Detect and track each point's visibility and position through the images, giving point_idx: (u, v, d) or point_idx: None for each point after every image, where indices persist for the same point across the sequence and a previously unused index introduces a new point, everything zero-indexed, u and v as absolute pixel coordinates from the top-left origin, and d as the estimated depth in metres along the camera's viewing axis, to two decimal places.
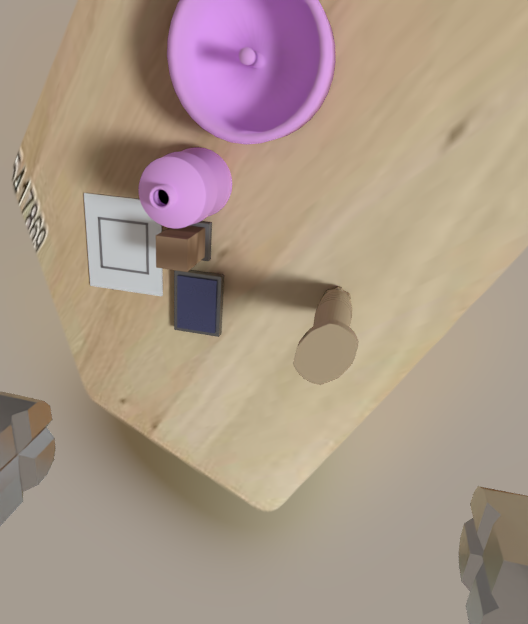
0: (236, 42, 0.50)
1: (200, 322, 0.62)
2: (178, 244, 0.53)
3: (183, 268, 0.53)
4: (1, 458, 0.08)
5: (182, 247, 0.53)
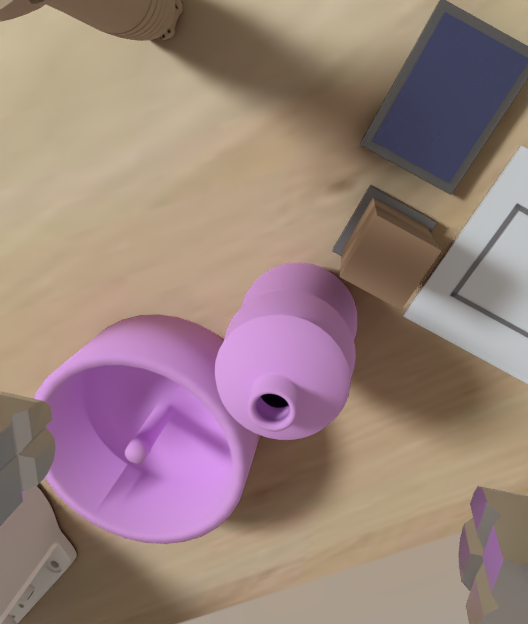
0: (186, 438, 0.39)
1: (464, 53, 0.26)
2: (363, 275, 0.25)
3: (381, 226, 0.24)
4: (1, 458, 0.08)
5: (358, 266, 0.25)
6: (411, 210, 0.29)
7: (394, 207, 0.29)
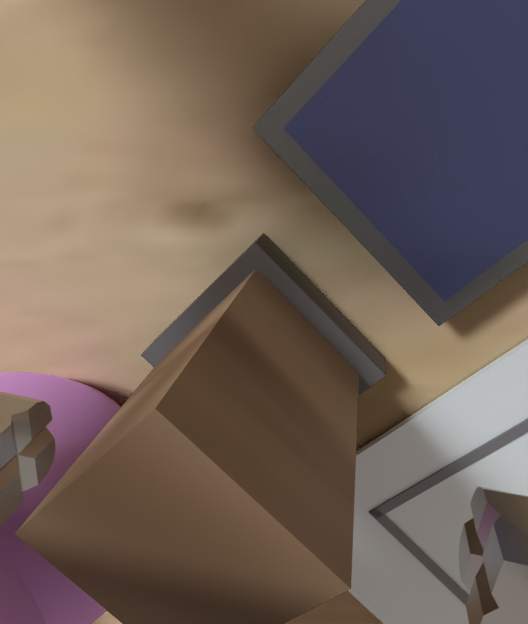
0: None
1: None
2: (87, 557, 0.07)
3: (164, 445, 0.06)
4: (1, 458, 0.08)
5: (74, 530, 0.07)
6: (336, 329, 0.12)
7: (299, 309, 0.12)
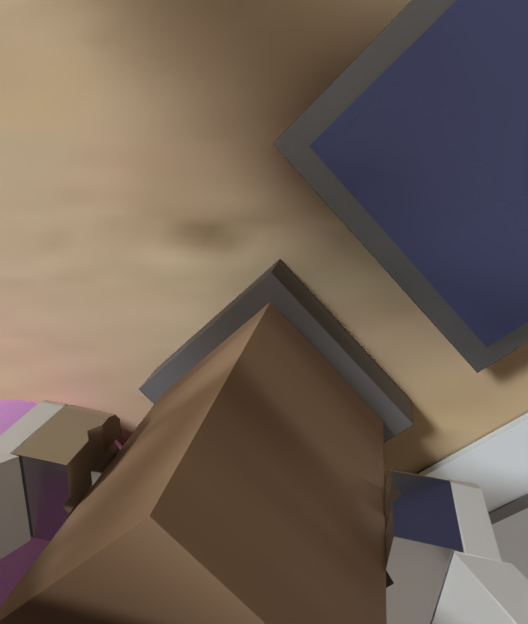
0: None
1: None
2: None
3: (159, 560, 0.05)
4: (79, 475, 0.08)
5: None
6: (359, 371, 0.10)
7: (318, 347, 0.10)
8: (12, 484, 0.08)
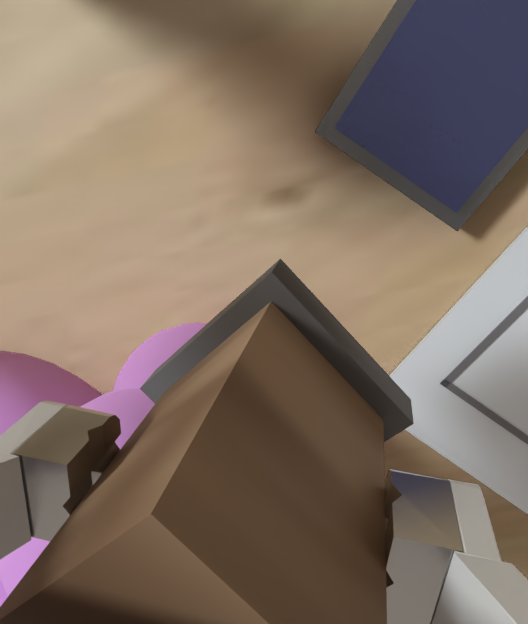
0: None
1: None
2: None
3: (160, 557, 0.05)
4: (80, 475, 0.08)
5: None
6: (359, 370, 0.10)
7: (318, 347, 0.10)
8: (12, 484, 0.08)
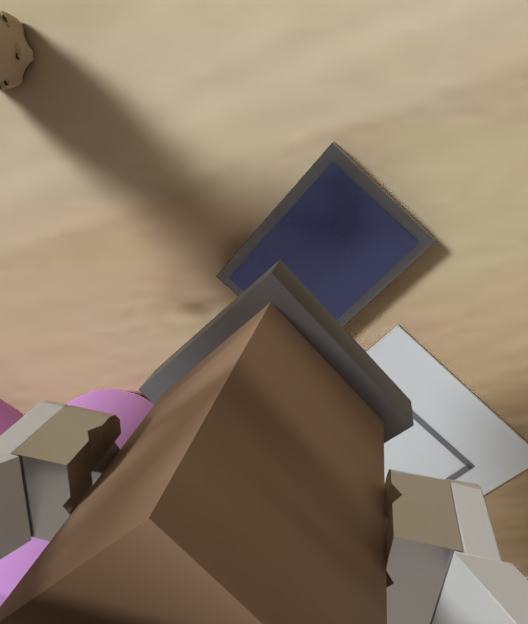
0: None
1: (345, 214, 0.21)
2: None
3: (158, 562, 0.05)
4: (80, 475, 0.08)
5: None
6: (359, 372, 0.10)
7: (318, 348, 0.10)
8: (12, 484, 0.08)
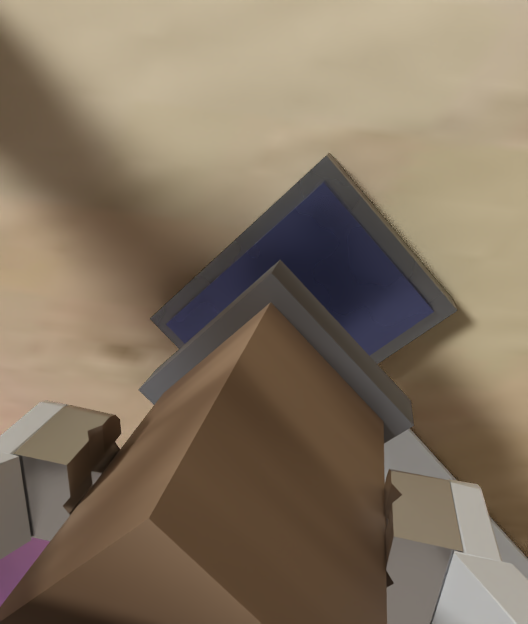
0: None
1: (335, 259, 0.15)
2: None
3: (159, 562, 0.05)
4: (79, 475, 0.08)
5: None
6: (359, 372, 0.10)
7: (318, 348, 0.10)
8: (12, 484, 0.08)
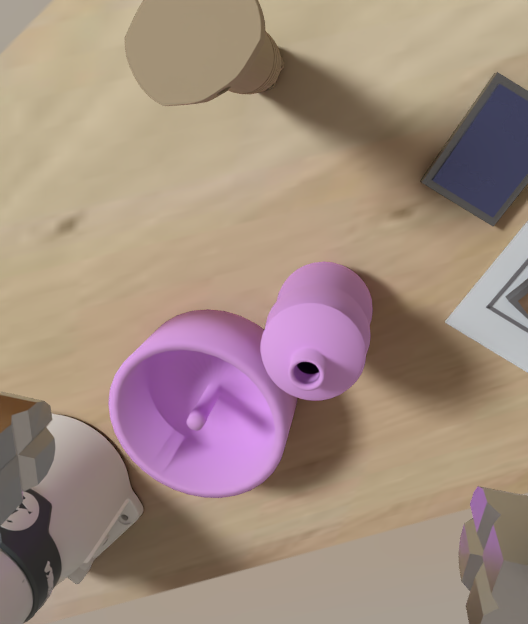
0: (233, 412, 0.46)
1: (512, 117, 0.32)
2: None
3: None
4: (1, 458, 0.08)
5: None
6: None
7: None
8: None
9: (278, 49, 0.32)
